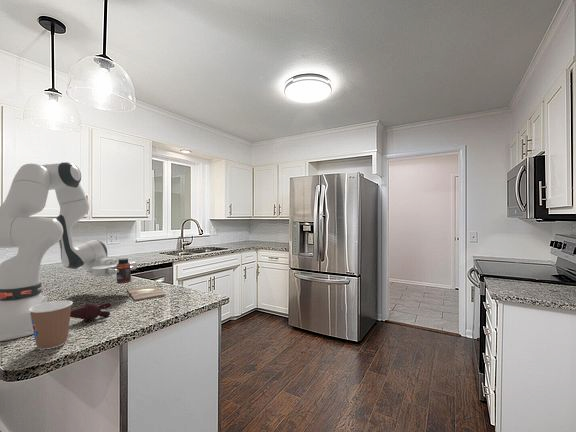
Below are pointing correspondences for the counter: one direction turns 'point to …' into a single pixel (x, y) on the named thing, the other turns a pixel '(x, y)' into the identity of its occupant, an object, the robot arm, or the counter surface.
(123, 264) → the supplement bottle
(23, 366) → the counter surface
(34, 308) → the coffee cup
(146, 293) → the board
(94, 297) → the counter surface
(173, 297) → the counter surface
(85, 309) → the dark red toy figure
